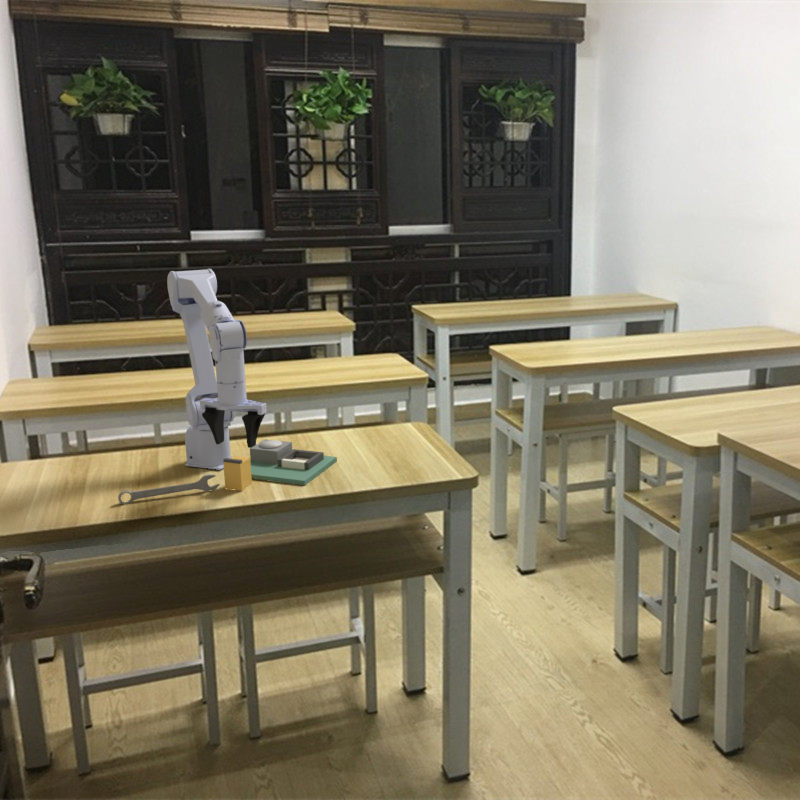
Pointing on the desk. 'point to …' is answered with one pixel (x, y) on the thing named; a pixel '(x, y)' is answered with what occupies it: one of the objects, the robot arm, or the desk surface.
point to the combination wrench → (170, 489)
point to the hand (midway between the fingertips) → (235, 444)
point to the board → (286, 462)
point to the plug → (237, 472)
